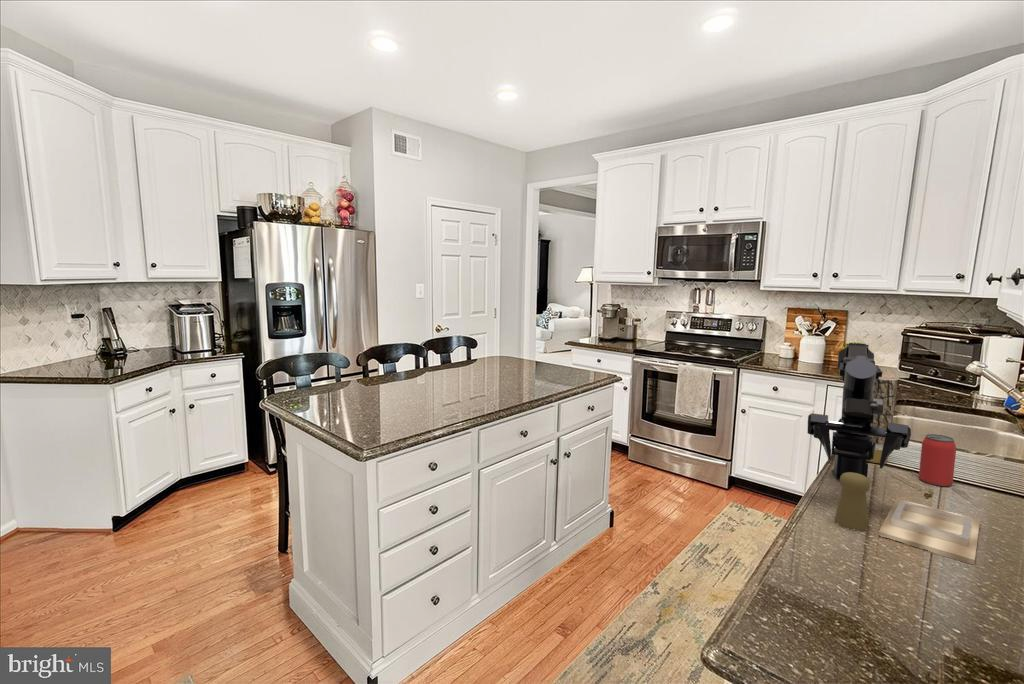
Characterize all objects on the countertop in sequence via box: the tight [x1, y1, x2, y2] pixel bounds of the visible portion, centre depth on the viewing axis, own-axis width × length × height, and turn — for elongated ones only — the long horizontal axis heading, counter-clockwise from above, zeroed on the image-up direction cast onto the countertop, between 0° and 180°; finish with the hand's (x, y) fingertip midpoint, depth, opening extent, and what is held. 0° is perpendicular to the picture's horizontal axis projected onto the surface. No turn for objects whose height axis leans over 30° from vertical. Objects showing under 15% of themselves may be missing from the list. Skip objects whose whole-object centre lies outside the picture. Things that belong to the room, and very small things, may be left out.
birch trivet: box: [877, 498, 981, 566], centre depth 99 cm, size 14×22×1 cm, turn 134°
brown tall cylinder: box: [866, 373, 899, 464], centre depth 137 cm, size 7×7×25 cm
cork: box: [834, 472, 871, 531], centre depth 101 cm, size 6×6×11 cm
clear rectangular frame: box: [891, 501, 972, 546], centre depth 99 cm, size 12×12×2 cm
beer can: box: [918, 433, 957, 487], centre depth 122 cm, size 7×7×12 cm
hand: (854, 463), depth 104 cm, fingers open, 9 cm apart
